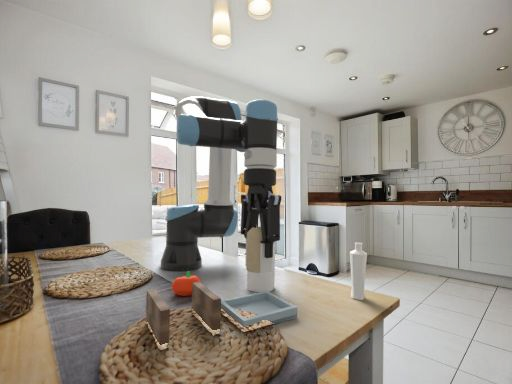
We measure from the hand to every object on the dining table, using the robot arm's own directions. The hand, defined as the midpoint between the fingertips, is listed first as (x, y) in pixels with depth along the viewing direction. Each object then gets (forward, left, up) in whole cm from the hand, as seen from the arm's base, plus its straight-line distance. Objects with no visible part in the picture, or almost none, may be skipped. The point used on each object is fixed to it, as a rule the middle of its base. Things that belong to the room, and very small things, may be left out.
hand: (258, 268), depth 63 cm
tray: (0, 0, -11) cm, 11 cm away
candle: (0, 0, -1) cm, 1 cm away
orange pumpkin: (-20, -10, -11) cm, 25 cm away
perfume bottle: (+5, +30, -11) cm, 32 cm away
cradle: (-2, -17, -11) cm, 20 cm away
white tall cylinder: (-15, +11, -11) cm, 22 cm away
